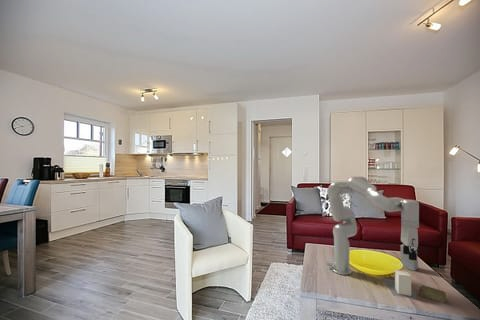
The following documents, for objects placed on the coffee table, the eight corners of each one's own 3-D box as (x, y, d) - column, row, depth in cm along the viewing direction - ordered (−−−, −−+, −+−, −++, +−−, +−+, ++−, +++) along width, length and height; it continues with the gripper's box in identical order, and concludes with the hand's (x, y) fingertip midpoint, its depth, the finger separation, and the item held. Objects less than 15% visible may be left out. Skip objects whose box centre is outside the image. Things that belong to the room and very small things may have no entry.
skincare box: (418, 269, 162) (418, 246, 163) (414, 271, 158) (414, 248, 159) (404, 264, 169) (404, 242, 170) (399, 267, 165) (400, 244, 166)
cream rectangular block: (398, 294, 130) (398, 274, 130) (394, 288, 135) (395, 269, 135) (411, 296, 128) (411, 276, 128) (407, 290, 134) (407, 271, 134)
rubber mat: (393, 295, 129) (393, 295, 129) (383, 278, 148) (383, 278, 148) (419, 300, 125) (419, 299, 125) (405, 282, 144) (405, 281, 144)
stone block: (446, 305, 121) (446, 295, 121) (418, 296, 129) (418, 287, 129) (446, 300, 125) (446, 291, 125) (419, 292, 133) (419, 283, 133)
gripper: (396, 219, 133) (395, 250, 133) (407, 226, 116) (407, 262, 116) (411, 220, 131) (411, 252, 130) (425, 228, 114) (425, 264, 114)
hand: (409, 256), depth 123 cm, fingers open, 7 cm apart
